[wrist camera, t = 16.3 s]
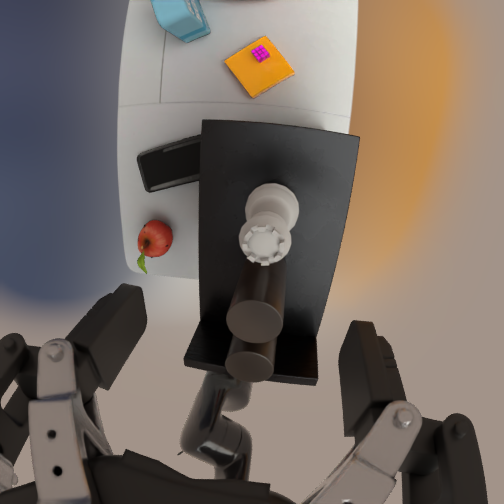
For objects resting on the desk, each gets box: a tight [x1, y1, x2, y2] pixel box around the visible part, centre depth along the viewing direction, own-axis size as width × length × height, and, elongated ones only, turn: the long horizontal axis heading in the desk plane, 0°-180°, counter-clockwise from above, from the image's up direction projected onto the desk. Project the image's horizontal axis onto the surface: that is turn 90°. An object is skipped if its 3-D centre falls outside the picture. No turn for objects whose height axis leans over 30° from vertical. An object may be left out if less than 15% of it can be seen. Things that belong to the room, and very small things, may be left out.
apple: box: [137, 220, 173, 274], centre depth 49 cm, size 8×7×10 cm
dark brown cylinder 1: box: [226, 258, 287, 343], centre depth 23 cm, size 4×4×8 cm
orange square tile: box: [224, 36, 294, 99], centre depth 36 cm, size 8×8×4 cm
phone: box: [137, 135, 201, 193], centre depth 47 cm, size 8×1×15 cm
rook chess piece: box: [239, 183, 299, 266], centre depth 20 cm, size 4×4×8 cm
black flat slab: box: [184, 119, 360, 386], centre depth 23 cm, size 22×13×7 cm, turn 175°
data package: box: [151, 0, 210, 43], centre depth 29 cm, size 12×4×12 cm, turn 18°
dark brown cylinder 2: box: [225, 334, 277, 382], centre depth 25 cm, size 4×4×8 cm
